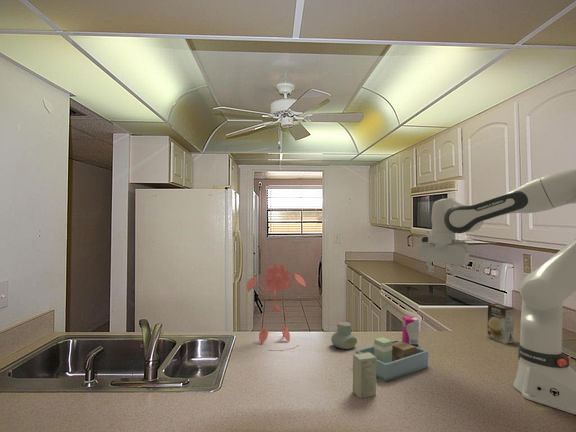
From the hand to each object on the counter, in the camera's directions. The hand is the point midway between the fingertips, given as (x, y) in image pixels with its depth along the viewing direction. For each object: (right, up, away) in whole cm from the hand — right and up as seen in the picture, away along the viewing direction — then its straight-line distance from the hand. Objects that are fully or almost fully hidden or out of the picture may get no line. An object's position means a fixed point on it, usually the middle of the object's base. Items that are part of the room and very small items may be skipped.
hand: (442, 274), depth 137 cm
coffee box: (+38, -35, +24) cm, 57 cm away
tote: (-22, -34, -7) cm, 41 cm away
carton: (-26, -33, -10) cm, 43 cm away
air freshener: (-37, -34, +12) cm, 52 cm away
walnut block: (-17, -33, -4) cm, 37 cm away
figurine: (-67, -33, +12) cm, 75 cm away
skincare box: (-37, -33, -28) cm, 57 cm away
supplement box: (-7, -34, +18) cm, 39 cm away
